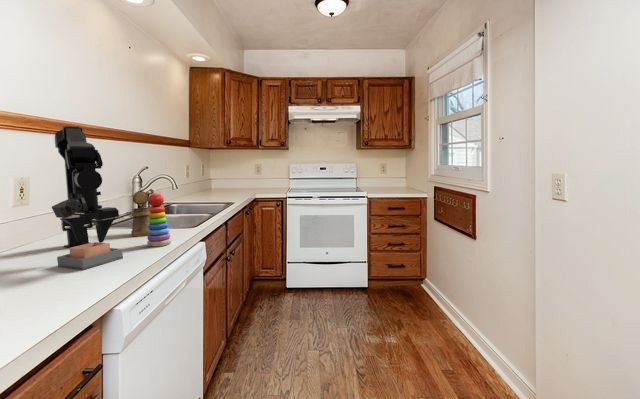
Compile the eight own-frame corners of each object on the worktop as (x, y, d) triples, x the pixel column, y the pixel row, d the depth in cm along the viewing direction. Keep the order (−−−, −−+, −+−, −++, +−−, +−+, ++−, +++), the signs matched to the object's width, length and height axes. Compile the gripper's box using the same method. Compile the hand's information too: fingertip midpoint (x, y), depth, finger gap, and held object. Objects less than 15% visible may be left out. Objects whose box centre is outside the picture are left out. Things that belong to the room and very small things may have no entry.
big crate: (58, 266, 98) (57, 256, 98) (99, 255, 110) (98, 246, 109) (83, 270, 95) (82, 259, 94) (122, 258, 106) (122, 248, 106)
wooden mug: (154, 229, 153) (151, 189, 151) (155, 235, 141) (152, 191, 139) (131, 231, 149) (128, 190, 147) (131, 237, 137) (127, 193, 135)
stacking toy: (175, 242, 127) (172, 192, 125) (164, 247, 120) (160, 194, 118) (155, 242, 128) (152, 192, 126) (142, 247, 120) (138, 194, 118)
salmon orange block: (70, 263, 99) (69, 248, 99) (96, 255, 107) (95, 241, 106) (85, 264, 97) (83, 249, 97) (110, 257, 105) (109, 243, 104)
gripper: (33, 190, 95) (39, 245, 97) (79, 191, 89) (85, 250, 91) (73, 187, 106) (78, 237, 107) (118, 188, 99) (122, 241, 101)
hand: (89, 241), depth 101 cm, fingers open, 9 cm apart
